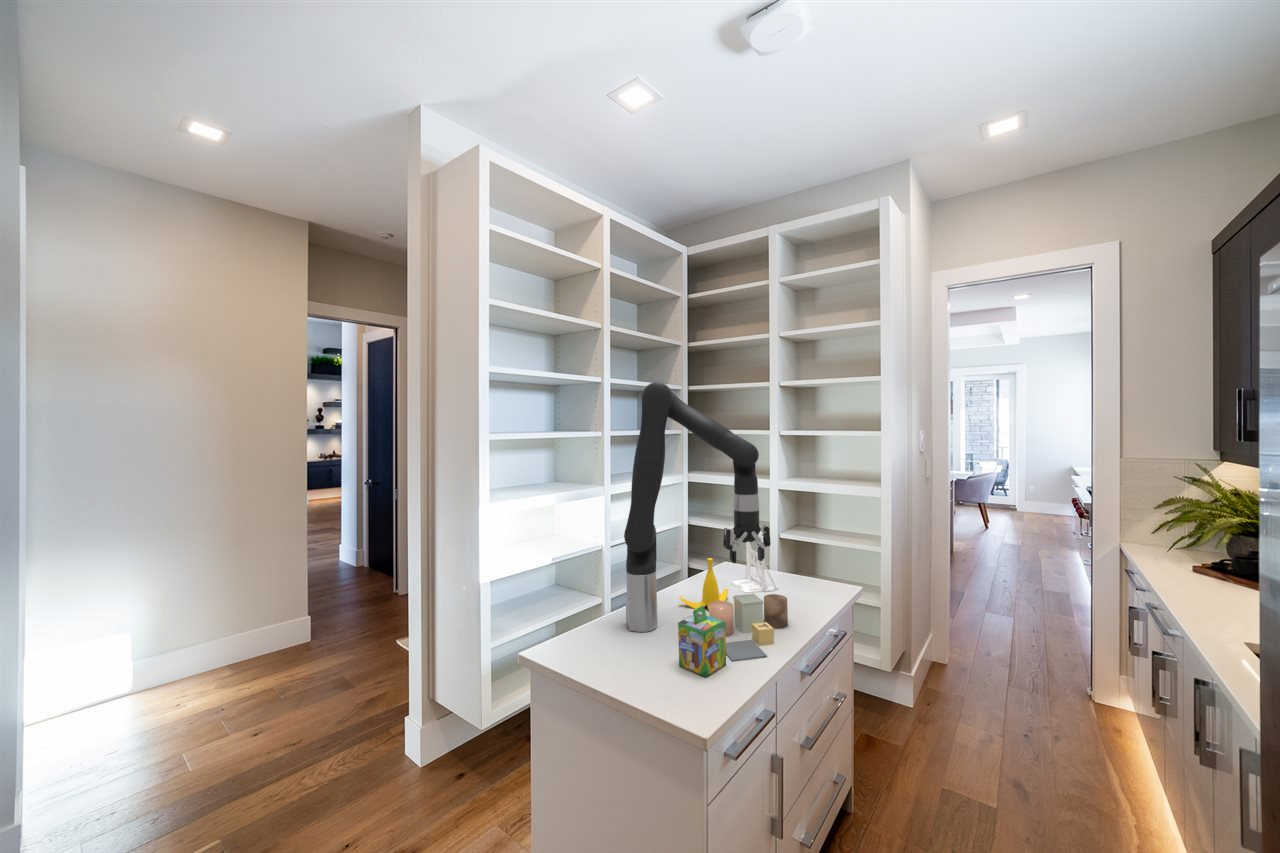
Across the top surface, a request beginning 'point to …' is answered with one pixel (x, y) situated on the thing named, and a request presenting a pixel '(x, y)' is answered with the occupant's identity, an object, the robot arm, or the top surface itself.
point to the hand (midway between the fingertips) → (747, 561)
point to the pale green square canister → (747, 611)
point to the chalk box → (702, 643)
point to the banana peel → (708, 590)
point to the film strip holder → (754, 585)
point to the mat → (743, 650)
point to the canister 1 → (723, 614)
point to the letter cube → (763, 633)
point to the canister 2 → (776, 611)
